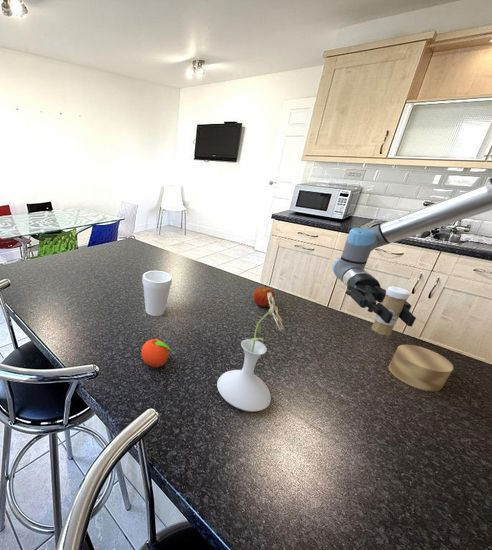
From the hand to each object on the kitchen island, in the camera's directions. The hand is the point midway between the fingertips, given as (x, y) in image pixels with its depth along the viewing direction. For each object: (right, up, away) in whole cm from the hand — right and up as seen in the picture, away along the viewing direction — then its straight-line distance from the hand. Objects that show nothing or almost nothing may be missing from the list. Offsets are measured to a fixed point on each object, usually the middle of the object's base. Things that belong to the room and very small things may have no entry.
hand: (400, 320), depth 76 cm
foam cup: (-62, -1, +24) cm, 66 cm away
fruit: (-23, +1, +29) cm, 37 cm away
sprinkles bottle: (+1, -5, +8) cm, 9 cm away
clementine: (-64, -11, 0) cm, 65 cm away
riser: (+1, -14, -3) cm, 14 cm away
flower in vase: (-45, -16, -9) cm, 48 cm away
